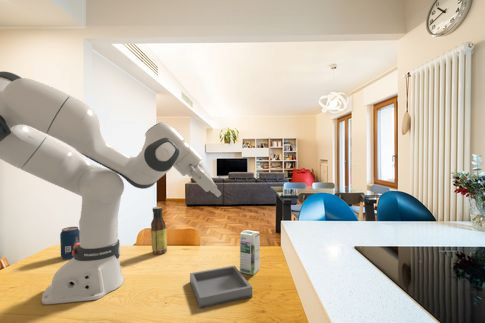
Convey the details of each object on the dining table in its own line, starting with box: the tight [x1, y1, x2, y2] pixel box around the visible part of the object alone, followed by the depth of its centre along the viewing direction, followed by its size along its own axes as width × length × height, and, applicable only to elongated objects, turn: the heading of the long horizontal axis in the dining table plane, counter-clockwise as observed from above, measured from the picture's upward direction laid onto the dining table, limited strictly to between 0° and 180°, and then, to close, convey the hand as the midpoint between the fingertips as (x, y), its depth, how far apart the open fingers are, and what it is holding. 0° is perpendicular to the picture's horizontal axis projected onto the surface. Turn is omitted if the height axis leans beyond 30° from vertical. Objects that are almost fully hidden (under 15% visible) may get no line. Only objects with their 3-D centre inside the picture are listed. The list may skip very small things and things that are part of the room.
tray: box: [189, 265, 253, 309], centre depth 83 cm, size 16×16×3 cm
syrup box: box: [239, 229, 261, 276], centre depth 95 cm, size 6×6×14 cm
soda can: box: [59, 226, 80, 260], centre depth 109 cm, size 7×7×12 cm
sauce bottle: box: [150, 206, 168, 255], centre depth 113 cm, size 7×6×20 cm
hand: (217, 191), depth 89 cm, fingers open, 8 cm apart
